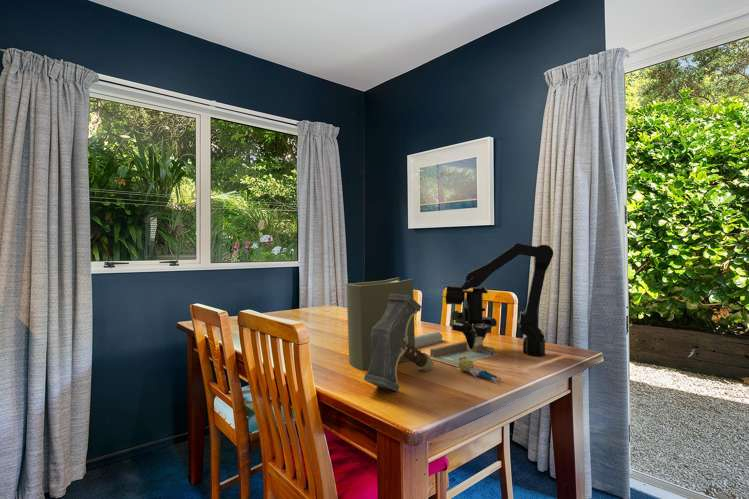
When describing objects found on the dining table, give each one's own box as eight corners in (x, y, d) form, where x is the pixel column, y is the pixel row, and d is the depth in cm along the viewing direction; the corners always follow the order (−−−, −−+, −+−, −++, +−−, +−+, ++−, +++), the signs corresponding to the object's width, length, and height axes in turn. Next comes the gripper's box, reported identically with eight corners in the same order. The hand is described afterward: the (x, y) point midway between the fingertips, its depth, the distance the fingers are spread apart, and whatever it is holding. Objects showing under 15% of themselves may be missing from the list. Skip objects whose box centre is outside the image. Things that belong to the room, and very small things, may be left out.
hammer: (428, 339, 140) (389, 285, 122) (451, 344, 134) (414, 289, 116) (394, 414, 127) (346, 366, 109) (419, 423, 122) (372, 374, 103)
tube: (433, 331, 172) (390, 341, 155) (443, 329, 168) (400, 338, 151) (436, 344, 171) (394, 355, 153) (446, 342, 167) (404, 353, 150)
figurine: (504, 384, 121) (467, 368, 133) (505, 369, 121) (467, 355, 133) (491, 388, 118) (453, 372, 130) (491, 373, 117) (454, 358, 130)
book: (360, 372, 132) (357, 284, 131) (347, 365, 140) (344, 282, 139) (415, 360, 143) (412, 279, 142) (400, 354, 151) (397, 277, 150)
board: (499, 356, 147) (499, 346, 147) (457, 367, 134) (457, 357, 134) (468, 348, 158) (468, 339, 158) (426, 358, 145) (426, 349, 145)
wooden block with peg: (496, 353, 147) (496, 339, 147) (489, 355, 144) (489, 341, 144) (474, 348, 155) (473, 335, 155) (467, 350, 152) (466, 336, 152)
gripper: (473, 300, 164) (473, 340, 164) (440, 305, 153) (440, 347, 153) (497, 303, 155) (497, 345, 155) (464, 308, 144) (464, 353, 144)
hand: (474, 347), depth 152 cm, fingers closed on wooden block with peg, 4 cm apart
